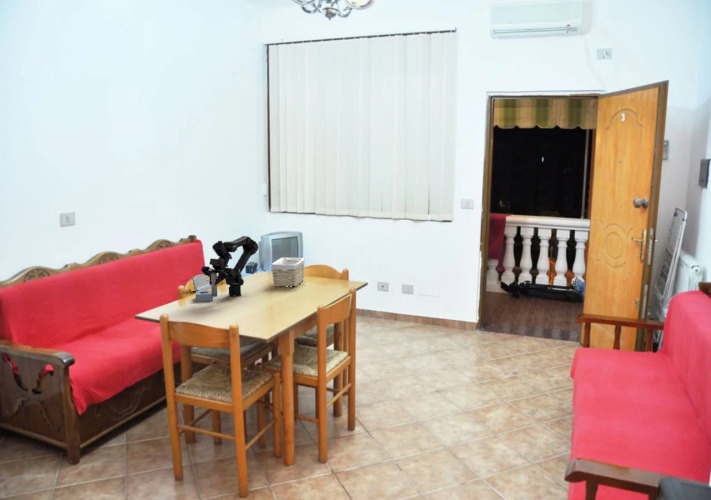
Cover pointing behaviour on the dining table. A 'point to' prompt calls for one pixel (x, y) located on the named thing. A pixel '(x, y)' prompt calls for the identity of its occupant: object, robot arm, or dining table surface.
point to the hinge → (201, 282)
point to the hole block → (204, 296)
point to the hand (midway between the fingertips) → (212, 284)
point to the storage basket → (288, 272)
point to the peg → (213, 286)
